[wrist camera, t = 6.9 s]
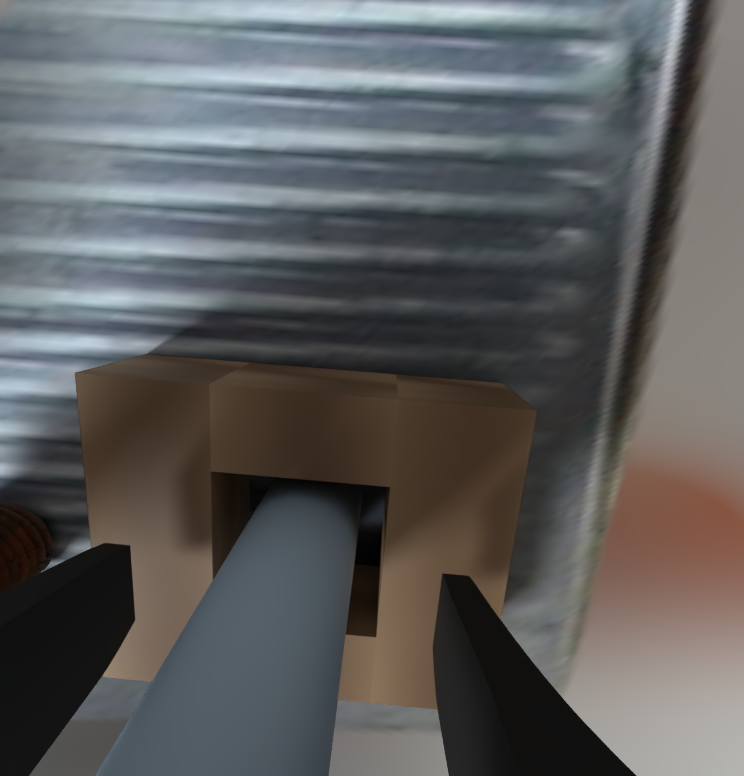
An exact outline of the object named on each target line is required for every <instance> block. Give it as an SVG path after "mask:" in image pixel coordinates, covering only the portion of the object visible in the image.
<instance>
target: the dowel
mask: <svg viewBox="0 0 744 776" xmlns="http://www.w3.org/2000/svg"><path fill="white" fill-rule="evenodd" d="M361 506H362V489H361V484H350V483H338V482H327V481H315V480H304V479H292V478H281V477H275V478H274V480H273V482H272V483H271V485H270V486H269V488H268V490H267V491H266V493H265V495H264V496H263V498H262V500H261V501H260V503H259V505H258V506H257V508H256V510H255V511H254V513H253V515H252V516H251V518H250V520H249V521H248V523H247V525H246V526H245V528H244V530H243V531H242V533H241V535H240V536H239V538H238V540H237V541H236V543H235V545H234V546H233V548H232V550H231V551H230V553H229V555H228V556H227V558H226V560H225V561H224V563H223V565H222V566H221V568H220V570H219V571H218V573H217V575H216V576H215V578H214V579H213V581H212V583H211V584H210V586H209V588H208V589H207V591H206V593H205V594H204V596H203V598H202V599H201V601H200V603H199V604H198V606H197V608H196V609H195V611H194V613H193V614H192V616H191V618H190V619H189V621H188V623H187V624H186V626H185V628H184V629H183V631H182V633H181V634H180V636H179V638H178V639H177V641H176V643H175V644H174V646H173V648H172V649H171V651H170V653H169V654H168V656H167V658H166V659H165V661H164V663H163V664H162V666H161V668H160V669H159V671H158V672H157V674H156V676H155V677H154V679H153V681H152V682H151V684H150V686H149V687H148V689H147V691H146V692H145V694H144V696H143V697H142V699H141V701H140V702H139V704H138V706H137V707H136V709H135V711H134V712H133V714H132V716H131V717H130V719H129V721H128V722H127V724H126V726H125V727H124V729H123V731H122V732H121V734H120V736H119V737H118V739H117V741H116V742H115V744H114V746H113V747H112V749H111V751H110V752H109V754H108V756H107V757H106V759H105V761H104V762H103V764H102V766H101V767H100V769H99V770H98V772H97V774H96V776H328V775H329V766H330V758H331V750H332V742H333V734H334V726H335V718H336V709H337V701H338V693H339V685H340V677H341V669H342V661H343V652H344V644H345V636H346V628H347V620H348V612H349V604H350V595H351V587H352V579H353V571H354V563H355V555H356V547H357V538H358V530H359V522H360V514H361Z"/></svg>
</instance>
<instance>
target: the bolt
mask: <svg viewBox="0 0 744 776" xmlns="http://www.w3.org/2000/svg"><path fill="white" fill-rule="evenodd" d="M52 548H53V541H52V538H51V535H50V532H49V530H48V527H47V525H46V523H45V522H44V521H43V520H42V519H41V518H40V517H38V516H36V515H35V514H33V513H31V512H30V511H28V510H26V509H24V508H21V507H19V506H17V505H15V504H11V503H8V502H3V501H0V593H2V592H4V591H6V590H8V589H10V588H12V587H14V586H16V585H18V584H20V583H22V582H24V581H26V580H28V579H30V578H32V577H34V576H36V575H38V574H40V573H41V571H42V570H44V569H45V568H46V567H47V566H48V564H49V563H50V561H51V558H52V555H51V554H46V552H47V551H50V550H52Z"/></svg>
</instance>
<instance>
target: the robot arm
mask: <svg viewBox="0 0 744 776" xmlns="http://www.w3.org/2000/svg"><path fill="white" fill-rule="evenodd" d="M134 622H135V606H134V592H133V578H132V563H131V549H130V545H123V544H112V543H103V544H100V545H98V546H96V547H93V548H91V549H89V550H87V551H85V552H82V553H80V554H78V555H76V556H74V557H72V558H70V559H68V560H66V561H64V562H62V563H60V564H58V565H56V566H54V567H52V568H50V569H48V570H46V571H44V572H42V573H40V574H38V575H36V576H34V577H32V578H30V579H28V580H26V581H24V582H22V583H20V584H18V585H16V586H14V587H12V588H10V589H8V590H6V591H4V592H2V593H0V776H29V775H30V773H31V772H32V771H33V769H34V768H35V766H36V765H37V764H38V763H39V761H40V760H41V758H42V757H43V756H44V754H45V753H46V752H47V750H48V749H49V748H50V746H51V745H52V744H53V742H54V741H55V739H56V738H57V737H58V736H59V734H60V733H61V731H62V730H63V729H64V727H65V726H66V725H67V723H68V722H69V721H70V719H71V718H72V717H73V715H74V714H75V712H76V711H77V710H78V708H79V707H80V706H81V704H82V703H83V702H84V700H85V699H86V697H87V696H88V695H89V693H90V692H91V691H92V689H93V688H94V686H95V685H96V684H97V682H98V681H99V679H100V678H101V677H102V675H103V674H104V672H105V671H106V670H107V668H108V667H109V665H110V663H111V662H112V660H113V658H114V657H115V655H116V653H117V652H118V650H119V648H120V647H121V645H122V643H123V641H124V640H125V638H126V636H127V634H128V632H129V631H130V629H131V627H132V625H133V623H134ZM432 649H433V664H434V679H435V692H436V702H437V708H438V714H439V720H440V726H441V732H442V738H443V744H444V750H445V755H446V761H447V767H448V772H449V776H636V775H635V774H634V773H633V772H632V771H631V770H630V769H629V768H628V767H627V766H626V765H625V764H624V763H623V762H622V761H621V760H620V759H619V758H618V757H617V756H616V755H615V754H614V753H613V752H612V751H611V750H610V749H609V748H608V747H607V746H606V745H605V744H604V743H603V742H602V741H601V739H600V738H599V737H598V736H597V735H596V734H595V733H594V732H593V731H592V730H591V729H590V728H589V727H588V726H587V725H586V724H585V723H584V722H583V721H582V720H581V718H580V717H579V716H578V715H577V714H576V713H575V712H574V711H573V710H572V708H571V707H570V706H569V705H568V704H567V703H566V702H565V701H564V699H563V698H562V697H561V696H560V695H559V693H558V692H557V691H556V690H555V689H554V688H553V686H552V685H551V684H550V683H549V682H548V680H547V679H546V678H545V677H544V676H543V674H542V673H541V672H540V671H539V669H538V668H537V667H536V666H535V664H534V663H533V662H532V661H531V659H530V658H529V657H528V656H527V654H526V653H525V652H524V650H523V649H522V648H521V646H520V645H519V644H518V643H517V641H516V640H515V639H514V637H513V636H512V635H511V633H510V632H509V631H508V629H507V628H506V627H505V625H504V624H503V622H502V621H501V620H500V618H499V617H498V616H497V614H496V613H495V611H494V610H493V609H492V607H491V606H490V604H489V603H488V601H487V600H486V598H485V597H484V596H483V594H482V593H481V591H480V590H479V588H478V587H477V585H476V584H475V583H474V581H473V580H472V579H471V577H470V576H467V575H455V574H444V573H442V579H441V587H440V594H439V602H438V610H437V617H436V625H435V632H434V640H433V647H432Z"/></svg>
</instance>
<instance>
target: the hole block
mask: <svg viewBox="0 0 744 776" xmlns="http://www.w3.org/2000/svg"><path fill="white" fill-rule="evenodd" d="M75 380H76V390H77V401H78V411H79V422H80V433H81V443H82V454H83V465H84V475H85V486H86V496H87V507H88V518H89V528H90V539H91V548H93V547H96V546H98V545H100V544H103V543H112V544H123V545H130V549H131V563H132V578H133V592H134V606H135V622H134V623H133V625H132V627H131V629H130V631H129V632H128V634H127V636H126V638H125V640H124V641H123V643H122V645H121V647H120V648H119V650H118V652H117V653H116V655H115V657H114V658H113V660H112V662H111V663H110V665H109V667H108V668H107V670H106V671H105V672H104V674H103V677H109V678H119V679H130V680H140V681H150V682H152V681H153V679H154V677H155V676H156V674H157V672H158V671H159V669H160V668H161V666H162V664H163V663H164V661H165V659H166V658H167V656H168V654H169V653H170V651H171V649H172V648H173V646H174V644H175V643H176V641H177V639H178V638H179V636H180V634H181V633H182V631H183V629H184V628H185V626H186V624H187V623H188V621H189V619H190V618H191V616H192V614H193V613H194V611H195V609H196V608H197V606H198V604H199V603H200V601H201V599H202V598H203V596H204V594H205V593H206V591H207V589H208V588H209V586H210V584H211V583H212V581H213V579H214V578H215V576H216V575H217V573H218V571H219V570H220V568H221V566H222V565H223V563H224V561H225V560H226V558H227V556H228V555H229V553H230V551H231V550H232V548H233V546H234V545H235V543H236V541H237V540H238V538H239V536H240V535H241V533H242V531H243V530H244V528H245V526H246V525H247V523H248V521H249V484H250V475H258V476H269V477H281V478H292V479H304V480H315V481H327V482H338V483H350V484H362V485H373V486H385V487H386V491H385V502H384V513H383V524H382V535H381V546H380V557H379V566H371V565H360V564H354V571H353V579H352V587H351V595H350V604H349V612H348V620H347V628H346V636H345V644H344V652H343V661H342V669H341V677H340V685H339V693H338V700H347V701H357V702H368V703H378V704H388V705H399V706H409V707H419V708H430V709H438V708H437V702H436V692H435V679H434V664H433V649H432V647H433V640H434V632H435V625H436V617H437V610H438V602H439V594H440V587H441V579H442V573H444V574H455V575H467V576H470V577H471V579H472V580H473V581H474V583H475V584H476V585H477V587H478V588H479V590H480V591H481V593H482V594H483V596H484V597H485V598H486V600H487V601H488V603H489V604H490V606H491V607H492V609H493V610H494V611H495V613H496V614H497V616H498V617H499V618H500V620H501V614H502V609H503V603H504V597H505V592H506V586H507V580H508V574H509V569H510V563H511V557H512V552H513V546H514V540H515V535H516V529H517V523H518V518H519V512H520V506H521V500H522V495H523V489H524V483H525V478H526V472H527V466H528V461H529V455H530V449H531V444H532V438H533V432H534V426H535V421H536V415H537V410H535V409H534V408H533V407H532V406H530V405H529V404H528V403H527V402H525V401H524V400H523V399H522V398H520V397H519V396H518V395H517V394H516V393H514V392H513V391H512V390H511V389H509V388H508V387H507V386H506V385H504V384H503V383H496V382H484V381H472V380H459V379H447V378H435V377H423V376H410V375H398V374H386V373H373V372H361V371H349V370H336V369H324V368H312V367H300V366H287V365H275V364H263V363H250V362H238V361H226V360H213V359H201V358H189V357H177V356H164V355H152V354H144V355H141V356H137V357H133V358H129V359H126V360H122V361H118V362H114V363H110V364H107V365H103V366H99V367H95V368H92V369H88V370H84V371H80V372H76V373H75Z"/></svg>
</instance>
